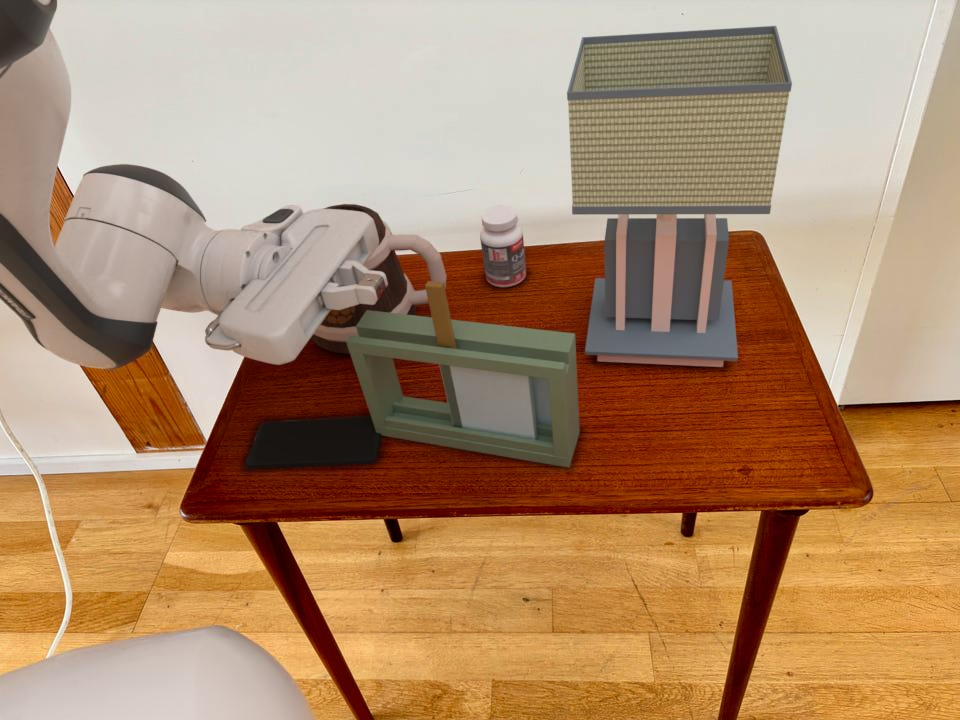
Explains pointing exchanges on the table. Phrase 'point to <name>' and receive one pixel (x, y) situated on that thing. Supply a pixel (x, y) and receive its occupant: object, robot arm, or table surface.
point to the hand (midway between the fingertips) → (380, 288)
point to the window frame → (477, 348)
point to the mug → (395, 295)
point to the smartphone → (315, 443)
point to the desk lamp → (673, 180)
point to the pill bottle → (502, 246)
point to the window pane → (481, 385)
